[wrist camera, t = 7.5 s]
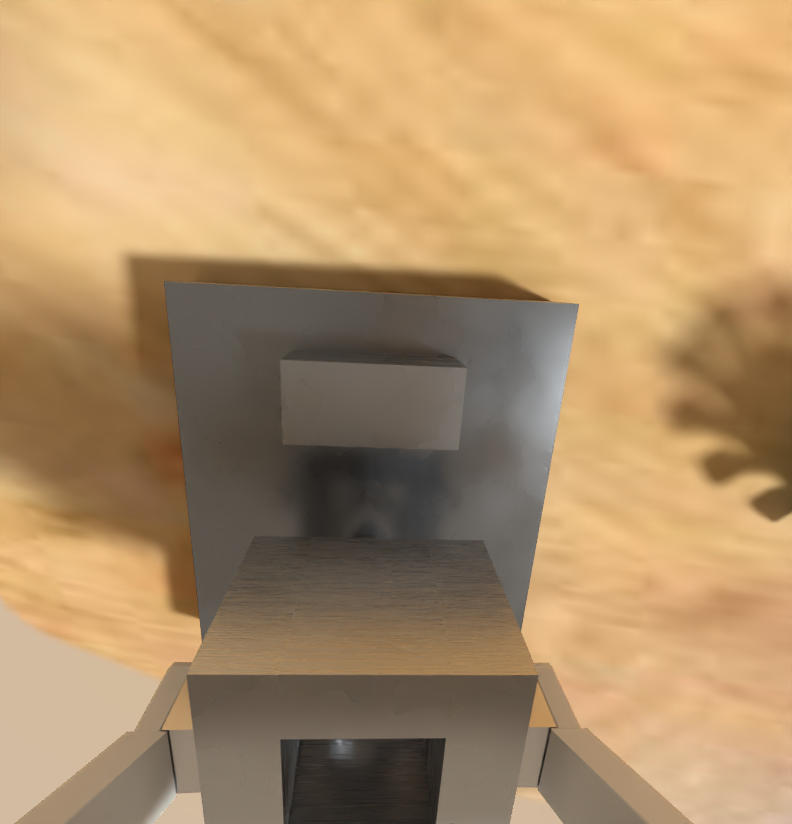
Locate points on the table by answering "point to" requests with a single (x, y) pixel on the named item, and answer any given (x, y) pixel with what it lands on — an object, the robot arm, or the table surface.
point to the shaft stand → (364, 420)
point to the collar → (361, 686)
